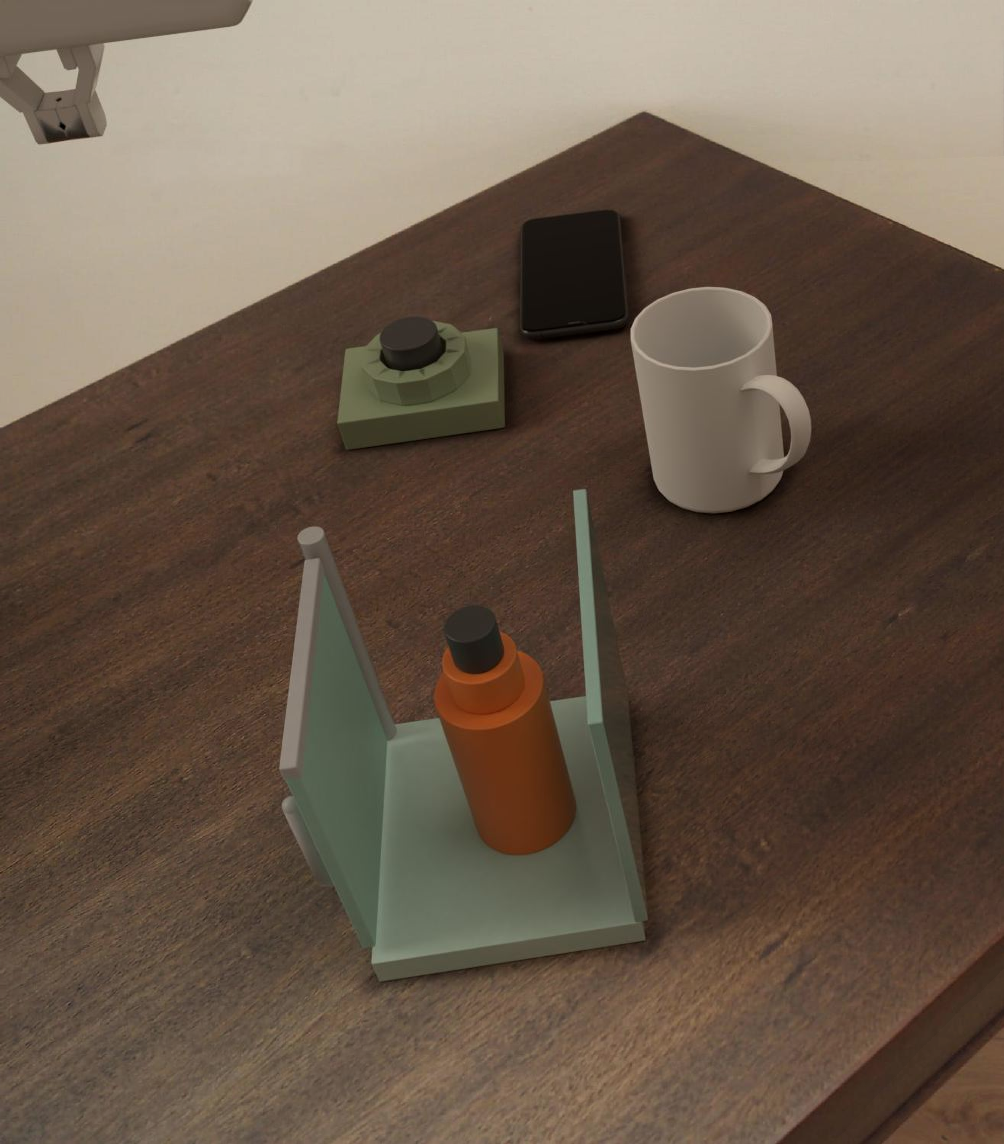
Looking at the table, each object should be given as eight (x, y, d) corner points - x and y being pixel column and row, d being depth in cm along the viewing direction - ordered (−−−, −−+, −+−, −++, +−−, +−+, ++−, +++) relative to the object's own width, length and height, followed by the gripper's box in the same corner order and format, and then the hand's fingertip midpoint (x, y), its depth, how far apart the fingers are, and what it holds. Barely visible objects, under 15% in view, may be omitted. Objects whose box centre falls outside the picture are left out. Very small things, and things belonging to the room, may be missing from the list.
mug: (627, 473, 94) (601, 328, 87) (727, 413, 98) (710, 270, 90) (759, 571, 87) (743, 423, 80) (862, 503, 91) (855, 355, 83)
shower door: (335, 953, 69) (248, 774, 60) (351, 745, 77) (277, 563, 69) (377, 946, 69) (296, 766, 60) (388, 740, 78) (319, 557, 69)
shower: (365, 984, 70) (266, 772, 59) (381, 744, 80) (298, 527, 70) (652, 939, 70) (602, 721, 60) (631, 707, 81) (585, 486, 70)
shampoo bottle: (475, 862, 72) (409, 673, 63) (476, 782, 76) (413, 591, 67) (578, 847, 73) (527, 655, 64) (574, 767, 76) (525, 575, 67)
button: (384, 376, 97) (377, 353, 96) (387, 343, 100) (380, 320, 98) (442, 368, 97) (436, 345, 96) (443, 335, 100) (437, 312, 99)
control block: (346, 450, 98) (328, 399, 95) (353, 375, 104) (337, 325, 101) (505, 428, 98) (492, 376, 96) (504, 354, 104) (492, 303, 101)
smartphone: (521, 228, 115) (520, 344, 104) (519, 218, 115) (518, 334, 104) (621, 215, 116) (631, 330, 105) (619, 205, 115) (629, 320, 104)
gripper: (211, -235, 66) (303, 74, 75) (-284, -174, 65) (-127, 131, 74) (190, -185, 61) (291, 137, 71) (-342, -119, 60) (-167, 198, 70)
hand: (73, 135), depth 73 cm, fingers closed
